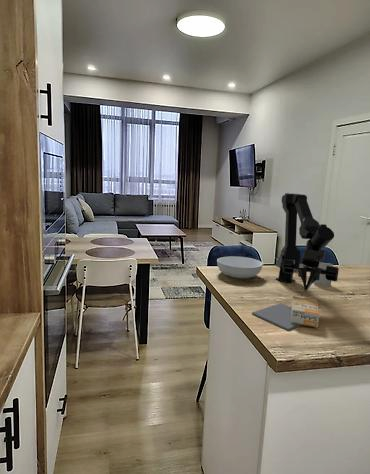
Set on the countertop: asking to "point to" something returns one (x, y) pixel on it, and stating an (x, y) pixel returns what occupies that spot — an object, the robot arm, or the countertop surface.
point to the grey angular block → (323, 276)
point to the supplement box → (304, 311)
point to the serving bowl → (239, 266)
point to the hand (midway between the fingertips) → (305, 290)
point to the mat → (277, 316)
